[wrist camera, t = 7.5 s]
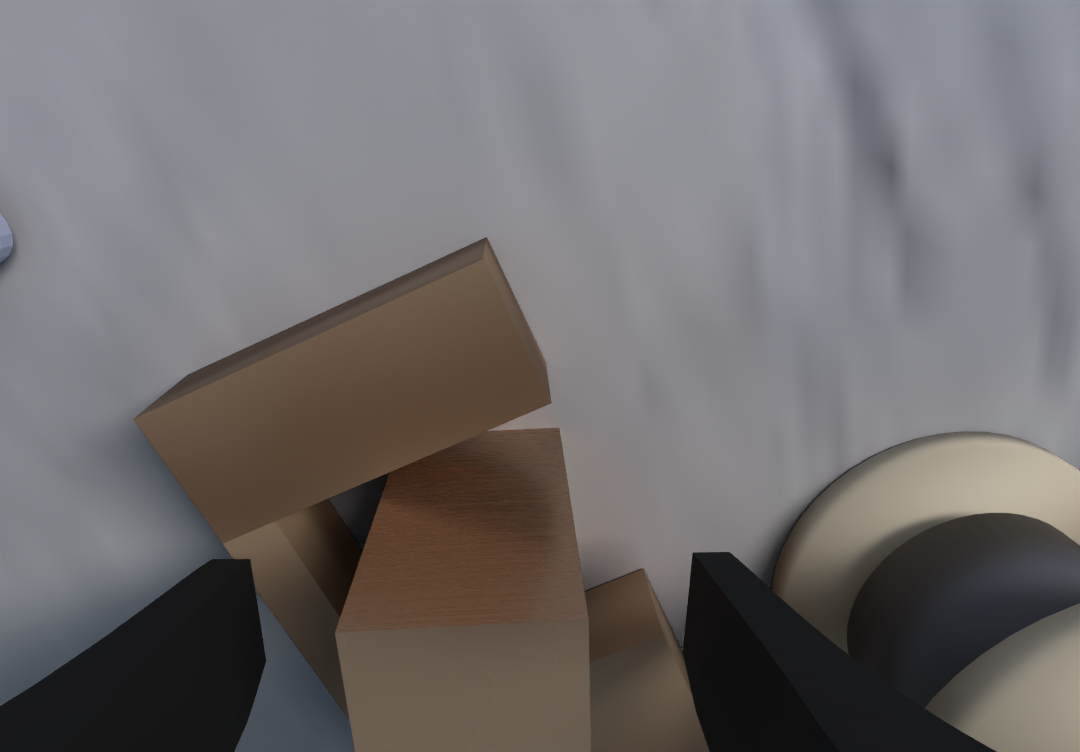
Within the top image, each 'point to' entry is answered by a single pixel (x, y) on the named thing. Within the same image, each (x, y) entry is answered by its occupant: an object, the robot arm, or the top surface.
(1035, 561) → the spool
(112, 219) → the top surface
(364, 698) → the brown wooden block
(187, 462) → the notched board
